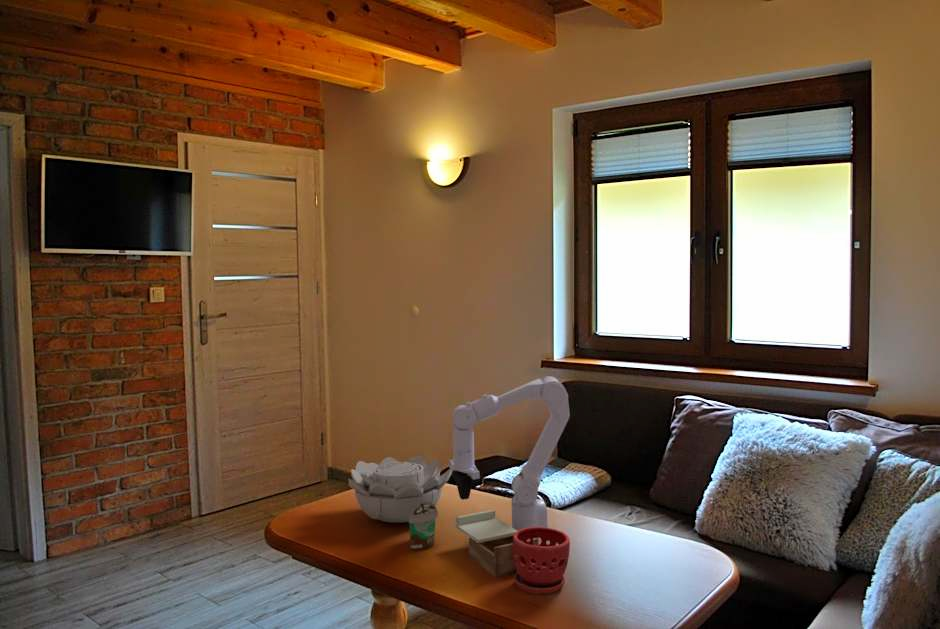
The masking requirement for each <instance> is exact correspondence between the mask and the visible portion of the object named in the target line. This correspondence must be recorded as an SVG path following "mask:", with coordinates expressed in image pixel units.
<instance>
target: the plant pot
mask: <svg viewBox="0 0 940 629" xmlns="http://www.w3.org/2000/svg"><path fill="white" fill-rule="evenodd" d="M534 538H540V540H541V542H540V544H538V545H535V544H534V543H533V539H534ZM529 539H530V541H529V542H527V540H529ZM521 540H522V541H523V542H521ZM547 542H549V544H548V543H547ZM570 542H571V540H570V536H568V534H566V533H565V532H563V531H561V530H558V529H555V528H551V527H547V528H546V527H529V528H524V529H520V530H518V531H516V532H515V533H514V536H513V558H514V564H515V567H516V570H517V573H514V582H515V583H516V585H517V586H518V587H519V589H522V590H523V591H525V592H528V593H531V594H537V595H538V594H540V595H544V594H545V595H546V594H551V593H555V592H557V591H559V590H560V589H561V588H562V587H563V586H564V584H565V581H566V580H565V579H566V578H565V577H564V574H565V572H566V570H567V567H568V563H569V557H570V546H571V545H570V544H571V543H570Z"/></svg>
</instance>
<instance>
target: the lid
mask: <svg viewBox="0 0 940 629" xmlns="http://www.w3.org/2000/svg"><path fill="white" fill-rule="evenodd" d="M454 527H455V528H456V529H457V530H459V531H460V532H461V533H463V534H465V535H466V536H467V537H469V538H471V539H473V540H474V541H476V542H477V543H481V542H486V541H491V540H495V539H500V538H505V537H509V536H514V533H515V532H516V531H517V530H515V529H514V528H512V526H510V525H509V524H508V523H505V522H504V521H502V520H500V519H499V518H497V517H496V510H495V509H489V510H484V511H480V512H474V513H469V514H465V515H464V514H463V515H459V516H456V523H455V524H454Z"/></svg>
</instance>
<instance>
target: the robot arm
mask: <svg viewBox="0 0 940 629" xmlns="http://www.w3.org/2000/svg"><path fill="white" fill-rule="evenodd" d="M541 397H542V399H543V400H544V401H545V403H546V406H547V408H548V410H549V412H550V413H549V417H548V418H547V421H546V422H545V425H544V426H543V430H542V431H541V432H540V435H539V437H538V439H537V442H536V443H535V446H534V447H533V450H532V451H531V453H530V455H529V458H528V460H527V462H526V464H525V465H523V466H522V468H521V470H520V471H519V473H518V474H516V475H515V476H514V477H513V479H512V480H511V489H512V491H513V493H514V495H513V497H512V498H511V527H512V528H514V529H515V530H517V531H518V530H520V529H524V528H529V527H546V528H548V509H547V508H548V507H547V505H546V502H545V501H544V500H543V499H541V498H538V496H539V495H538V494H539V490H538V489H539V487H540V486H541V480H542V475H543V473H544V471H545V469H546V466H547V465H548V463H549V461H550V459H551V456H552V454H553V452H554V450H555V448H556V446H557V444H558V442H559V440H560V437H561V436H562V433H563V432H564V430H565V428H566V425H567V423H568V422H569V419H570V415H571V413H570V404H569V394H568V392H567V390H566V388H565V386H564V384H562V383H561V382H559V380H558V379H557V378H556V377H554V376H551V375H548V376H544V377H542V378H537V379H535V380H534V379H533V380H532V381H529V382H527V383H525V384H523V385H521V386H518V387H515V388H514V389H512V390H509V391H508V392H505V393H503V394H500V395H498V396H496V395H493V394H488V395H487V393H485V394H482V396H481V398H479V399H478V398H477V399H476V400H474V401H472V402H470V401H466V403H465V405H464V404H461V405H458V406H456V407H455V409H453V412H452V414H451V417H452V422H453V427H452V430H453V433H452V447H453V448H452V450H453V459H449V469H450V470H452V473H451V477H453V480H454V482H455V484H456V488H457V492H458V495H459V499H461V500H463V501H465V500H468V499H470V495H471V491H472V487H473V484H474V483H475V480H479V479H480V478H481V476H480V470H478V468H477V467H476V465H475V434H474V425H475V423H479V422H483V421H485V420H487V419H490V418H492V417H495V416H497V415H499V414H500V412H501V409H502V408H505V407H508V406H510V405H514V404H517V403H519V402H522V401H525V400H528V399H530V400H531V399H532V400H535V401H539V402H540V401H542V399H541ZM453 471H455V472H453Z"/></svg>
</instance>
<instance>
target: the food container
mask: <svg viewBox="0 0 940 629" xmlns="http://www.w3.org/2000/svg"><path fill="white" fill-rule="evenodd" d="M438 516H439V512H438V508H437V505H436V506H435V505H434V504H433V503H430V502H425V501H420V506H419V507H418V508H417V509H416V510H415V512H414V513H413V515H409V522H408V524H409V541H410V551H411V552H420V551H427V550H429V549H431V548H433V547H434V545H435V539H436V538H435V537H436V536H435V535H436V518H438Z"/></svg>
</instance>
